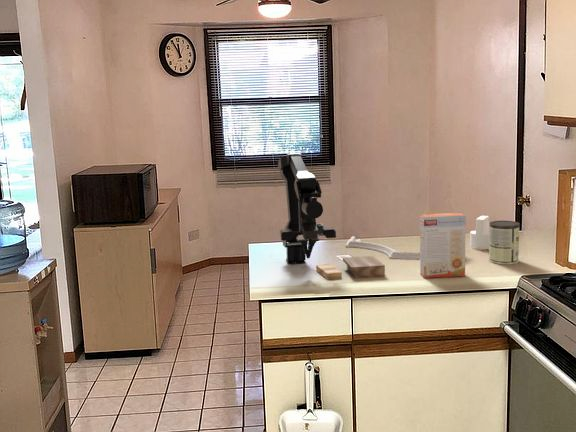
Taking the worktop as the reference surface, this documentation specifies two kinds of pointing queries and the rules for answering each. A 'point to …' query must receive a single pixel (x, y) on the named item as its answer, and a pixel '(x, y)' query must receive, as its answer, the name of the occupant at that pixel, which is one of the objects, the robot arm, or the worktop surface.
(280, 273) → the worktop surface
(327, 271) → the oak plank
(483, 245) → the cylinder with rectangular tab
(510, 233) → the coffee can
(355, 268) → the laid planks
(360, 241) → the molding
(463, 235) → the cracker box
